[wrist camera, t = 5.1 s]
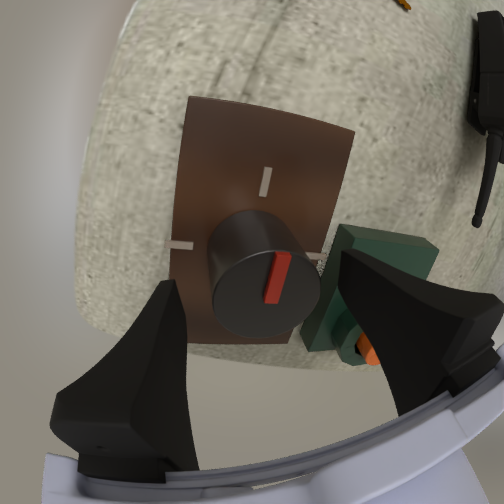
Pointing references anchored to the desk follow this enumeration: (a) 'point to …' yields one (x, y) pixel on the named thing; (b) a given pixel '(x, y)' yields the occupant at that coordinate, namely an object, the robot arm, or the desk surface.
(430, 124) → the desk surface
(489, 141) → the walkie-talkie
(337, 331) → the button block
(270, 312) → the knob
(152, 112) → the desk surface
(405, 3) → the key tag
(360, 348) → the button
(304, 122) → the lock panel
